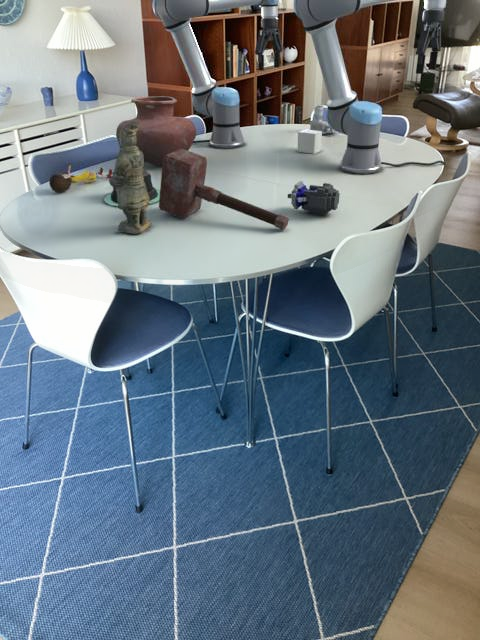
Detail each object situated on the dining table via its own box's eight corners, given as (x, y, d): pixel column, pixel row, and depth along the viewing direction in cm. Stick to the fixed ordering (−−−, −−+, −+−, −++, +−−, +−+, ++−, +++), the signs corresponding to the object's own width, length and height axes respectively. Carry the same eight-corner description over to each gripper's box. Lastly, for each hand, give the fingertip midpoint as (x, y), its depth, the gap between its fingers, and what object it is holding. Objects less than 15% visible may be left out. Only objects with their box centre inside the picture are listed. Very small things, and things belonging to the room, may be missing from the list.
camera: (318, 104, 267) (345, 108, 259) (317, 129, 274) (342, 134, 265) (308, 106, 262) (334, 110, 253) (306, 132, 268) (332, 137, 259)
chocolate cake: (91, 202, 180) (113, 186, 197) (142, 231, 182) (160, 212, 199) (107, 162, 172) (129, 148, 190) (160, 192, 174) (177, 176, 192)
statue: (131, 220, 168) (117, 116, 152) (158, 224, 164) (147, 118, 149) (109, 233, 159) (93, 124, 144) (138, 237, 156) (124, 126, 140)
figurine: (118, 166, 204) (64, 174, 185) (119, 186, 207) (65, 196, 188) (93, 161, 211) (38, 168, 191) (95, 181, 214) (40, 190, 195)
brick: (304, 148, 242) (305, 129, 237) (321, 150, 237) (322, 131, 233) (297, 151, 237) (297, 131, 233) (314, 153, 233) (315, 133, 229)
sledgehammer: (299, 190, 156) (179, 147, 167) (285, 200, 148) (161, 154, 160) (286, 244, 166) (174, 200, 177) (272, 256, 158) (156, 209, 170)
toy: (295, 178, 172) (342, 184, 166) (295, 205, 177) (340, 211, 171) (285, 186, 166) (333, 192, 160) (284, 213, 170) (331, 220, 164)
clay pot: (204, 155, 234) (201, 91, 222) (186, 175, 209) (181, 105, 196) (136, 153, 239) (129, 91, 227) (109, 172, 214) (100, 104, 201)
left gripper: (277, 16, 261) (276, 65, 272) (246, 18, 244) (247, 71, 254) (290, 16, 257) (289, 66, 268) (261, 18, 240) (261, 72, 250)
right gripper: (435, 8, 216) (427, 67, 227) (411, 10, 199) (404, 74, 209) (455, 8, 212) (445, 68, 223) (432, 10, 195) (423, 75, 206)
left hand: (269, 68), depth 261 cm, fingers open, 13 cm apart
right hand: (425, 71), depth 216 cm, fingers open, 13 cm apart
